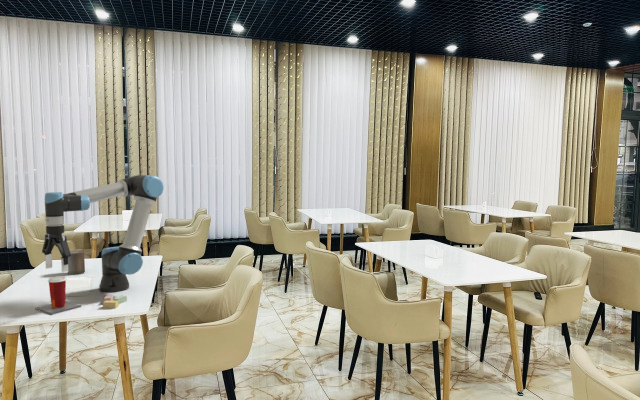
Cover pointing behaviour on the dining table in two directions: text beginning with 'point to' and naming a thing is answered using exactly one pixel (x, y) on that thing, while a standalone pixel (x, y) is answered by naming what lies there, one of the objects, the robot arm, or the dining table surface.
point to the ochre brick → (110, 304)
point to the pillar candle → (76, 262)
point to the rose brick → (108, 298)
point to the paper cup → (57, 291)
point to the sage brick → (120, 299)
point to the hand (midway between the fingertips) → (56, 269)
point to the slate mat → (52, 311)
